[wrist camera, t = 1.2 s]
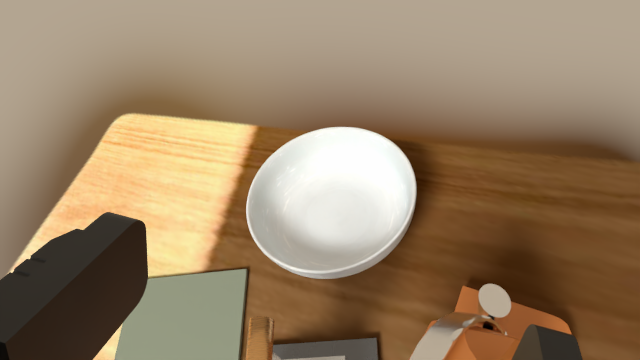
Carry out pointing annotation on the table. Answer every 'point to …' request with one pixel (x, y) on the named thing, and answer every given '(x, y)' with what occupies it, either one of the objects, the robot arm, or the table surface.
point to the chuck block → (330, 350)
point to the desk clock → (482, 327)
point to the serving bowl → (332, 202)
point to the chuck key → (261, 339)
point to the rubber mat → (187, 318)
